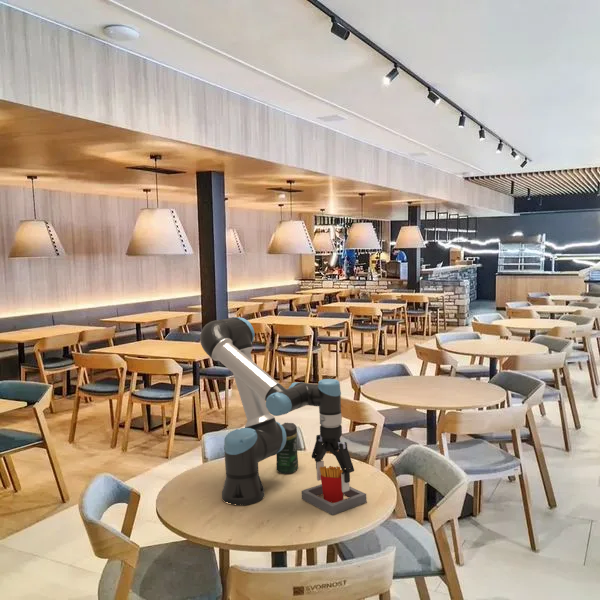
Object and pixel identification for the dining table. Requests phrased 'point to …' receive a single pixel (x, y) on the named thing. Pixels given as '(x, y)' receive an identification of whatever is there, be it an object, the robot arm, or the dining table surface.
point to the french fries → (331, 483)
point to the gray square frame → (333, 508)
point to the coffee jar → (288, 451)
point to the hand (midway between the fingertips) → (332, 485)
